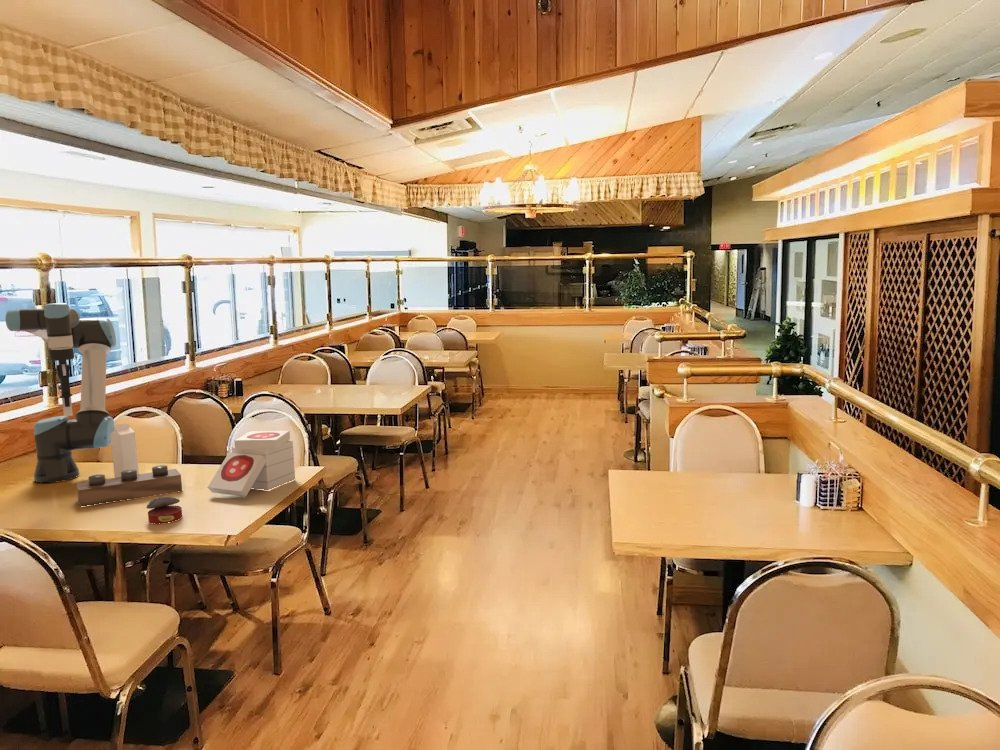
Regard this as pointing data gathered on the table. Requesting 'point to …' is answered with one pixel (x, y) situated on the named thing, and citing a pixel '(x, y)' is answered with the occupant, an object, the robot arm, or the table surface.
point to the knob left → (97, 479)
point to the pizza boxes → (256, 463)
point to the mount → (129, 488)
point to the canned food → (164, 510)
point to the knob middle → (129, 475)
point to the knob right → (159, 470)
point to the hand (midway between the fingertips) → (68, 415)
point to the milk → (124, 449)
